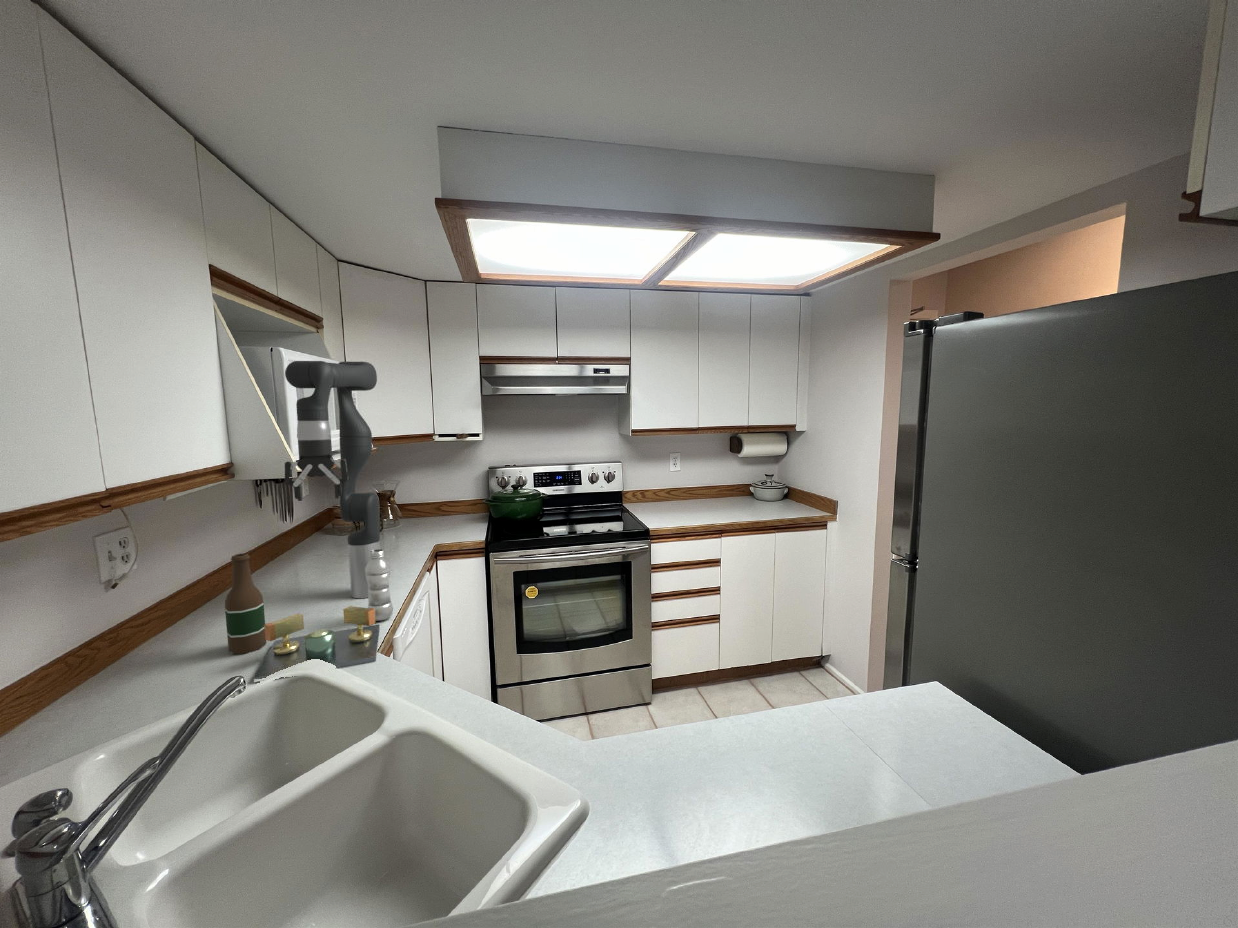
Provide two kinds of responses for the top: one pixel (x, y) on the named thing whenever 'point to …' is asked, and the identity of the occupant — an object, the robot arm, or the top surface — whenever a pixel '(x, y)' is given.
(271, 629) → the knob
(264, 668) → the base plate
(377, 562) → the plastic bottle
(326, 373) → the robot arm
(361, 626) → the knob
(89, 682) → the top surface
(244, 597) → the beer bottle
